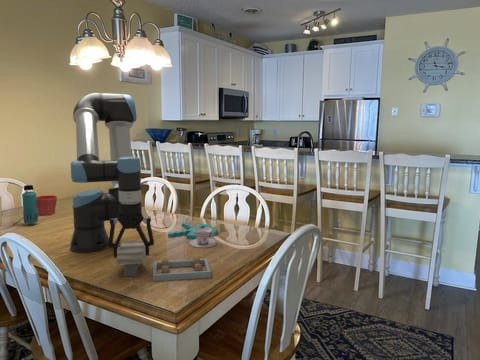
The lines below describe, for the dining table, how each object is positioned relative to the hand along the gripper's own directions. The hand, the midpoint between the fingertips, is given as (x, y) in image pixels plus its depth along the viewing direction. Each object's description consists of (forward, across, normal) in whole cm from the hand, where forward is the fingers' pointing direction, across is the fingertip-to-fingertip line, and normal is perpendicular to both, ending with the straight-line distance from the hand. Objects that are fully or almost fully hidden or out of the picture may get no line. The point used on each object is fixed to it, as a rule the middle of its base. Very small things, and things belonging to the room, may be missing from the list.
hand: (132, 264), depth 129 cm
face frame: (+2, +17, -5) cm, 18 cm away
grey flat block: (-3, 0, 0) cm, 3 cm away
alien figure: (+2, +26, +41) cm, 49 cm away
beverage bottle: (+2, -54, +67) cm, 86 cm away
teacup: (+2, +28, +25) cm, 37 cm away
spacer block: (+2, 0, 0) cm, 2 cm away
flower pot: (+2, -53, +89) cm, 104 cm away
